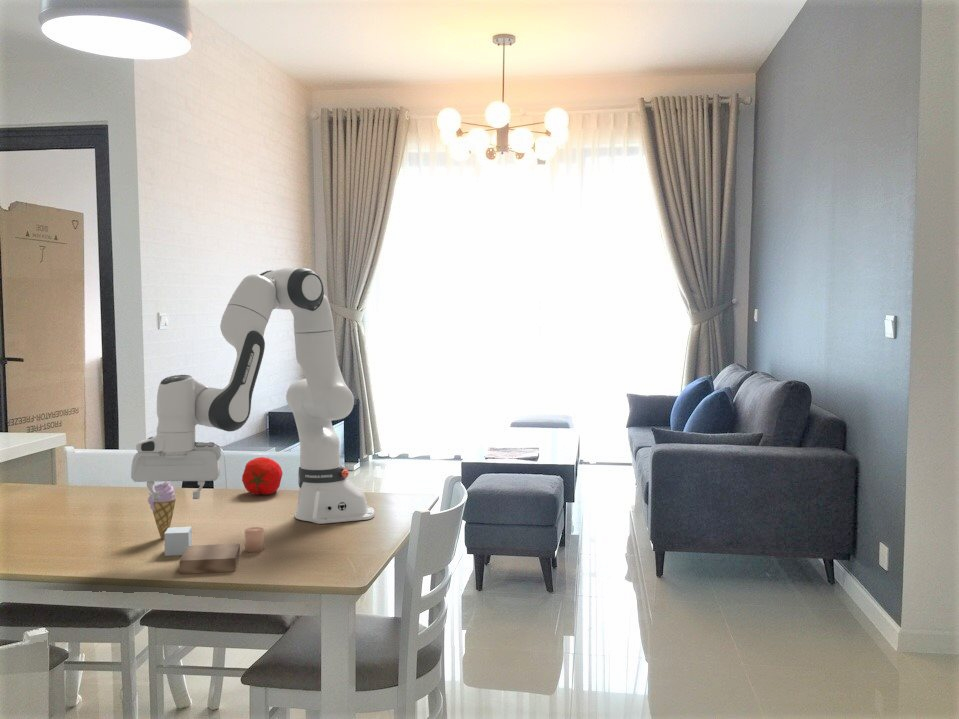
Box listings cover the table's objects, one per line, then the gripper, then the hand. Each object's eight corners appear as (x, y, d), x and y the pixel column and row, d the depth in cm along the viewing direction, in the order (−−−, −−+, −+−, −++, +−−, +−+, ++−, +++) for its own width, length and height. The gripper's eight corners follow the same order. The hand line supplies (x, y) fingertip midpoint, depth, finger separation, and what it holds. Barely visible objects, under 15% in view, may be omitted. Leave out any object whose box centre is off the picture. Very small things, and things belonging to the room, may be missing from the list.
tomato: (263, 498, 280) (251, 509, 267) (241, 466, 279) (228, 475, 266) (295, 477, 279) (284, 487, 265) (273, 445, 278) (261, 453, 265)
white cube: (192, 548, 212) (191, 526, 212) (188, 554, 207) (188, 532, 206) (168, 549, 211) (168, 527, 211) (164, 556, 206) (164, 533, 205)
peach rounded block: (264, 546, 214) (264, 526, 214) (263, 551, 209) (263, 531, 209) (245, 547, 213) (245, 527, 213) (244, 552, 209) (243, 532, 208)
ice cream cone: (159, 543, 216) (158, 484, 215) (143, 539, 219) (142, 481, 218) (181, 537, 222) (180, 479, 221) (165, 533, 225) (164, 477, 224)
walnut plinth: (240, 555, 206) (239, 543, 206) (235, 571, 194) (235, 558, 194) (187, 558, 204) (187, 545, 203) (179, 573, 192) (179, 560, 192)
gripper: (222, 440, 212) (222, 495, 213) (134, 440, 208) (134, 497, 209) (219, 444, 206) (219, 501, 207) (129, 444, 202) (129, 502, 203)
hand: (176, 499), depth 208 cm, fingers open, 8 cm apart
